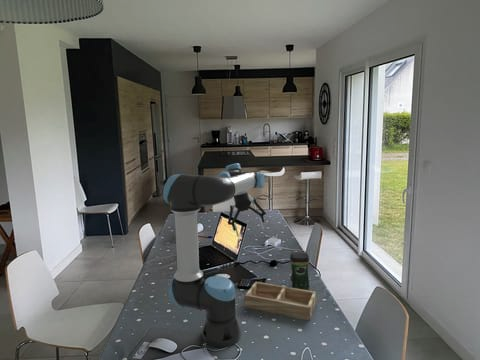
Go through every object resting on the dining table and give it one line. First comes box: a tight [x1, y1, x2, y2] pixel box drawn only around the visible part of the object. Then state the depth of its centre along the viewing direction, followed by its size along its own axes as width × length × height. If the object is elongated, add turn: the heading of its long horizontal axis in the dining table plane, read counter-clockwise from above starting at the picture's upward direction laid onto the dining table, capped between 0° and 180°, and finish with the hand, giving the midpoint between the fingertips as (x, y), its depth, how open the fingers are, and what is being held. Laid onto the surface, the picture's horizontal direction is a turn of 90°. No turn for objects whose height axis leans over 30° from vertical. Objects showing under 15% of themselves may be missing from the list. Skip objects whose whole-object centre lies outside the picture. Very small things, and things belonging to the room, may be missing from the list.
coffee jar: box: [289, 251, 310, 290], centre depth 179 cm, size 10×8×19 cm
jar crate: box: [244, 281, 317, 321], centre depth 164 cm, size 14×30×6 cm, turn 68°
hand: (250, 232), depth 185 cm, fingers open, 13 cm apart
